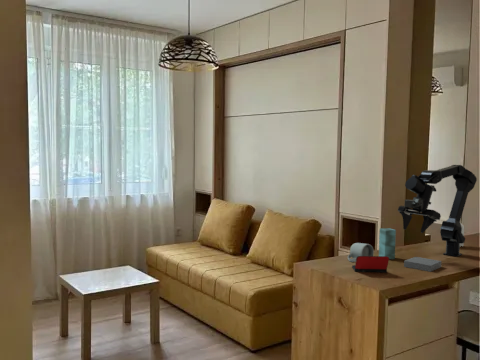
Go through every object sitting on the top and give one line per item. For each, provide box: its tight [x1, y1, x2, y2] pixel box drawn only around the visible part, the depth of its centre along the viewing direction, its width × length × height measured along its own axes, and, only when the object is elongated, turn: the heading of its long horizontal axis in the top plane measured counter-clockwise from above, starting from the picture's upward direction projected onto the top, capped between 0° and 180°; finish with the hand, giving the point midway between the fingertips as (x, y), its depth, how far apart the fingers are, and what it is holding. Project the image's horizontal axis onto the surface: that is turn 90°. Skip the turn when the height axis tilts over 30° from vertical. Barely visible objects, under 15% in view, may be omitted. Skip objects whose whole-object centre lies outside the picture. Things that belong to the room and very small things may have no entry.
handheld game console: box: [351, 255, 390, 274], centre depth 184 cm, size 12×11×7 cm
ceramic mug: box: [347, 242, 375, 263], centre depth 201 cm, size 11×8×8 cm
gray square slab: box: [403, 256, 442, 272], centre depth 191 cm, size 11×11×2 cm
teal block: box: [378, 227, 397, 260], centre depth 206 cm, size 5×5×13 cm
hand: (412, 231), depth 201 cm, fingers open, 9 cm apart
